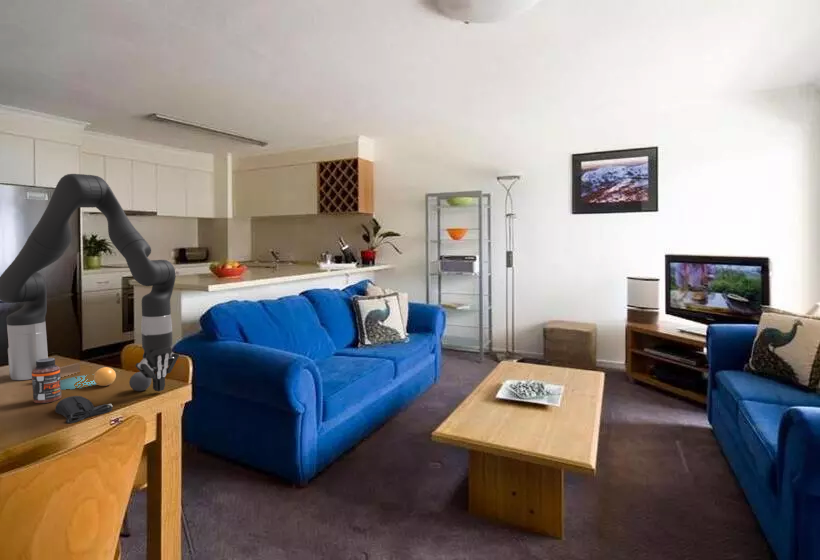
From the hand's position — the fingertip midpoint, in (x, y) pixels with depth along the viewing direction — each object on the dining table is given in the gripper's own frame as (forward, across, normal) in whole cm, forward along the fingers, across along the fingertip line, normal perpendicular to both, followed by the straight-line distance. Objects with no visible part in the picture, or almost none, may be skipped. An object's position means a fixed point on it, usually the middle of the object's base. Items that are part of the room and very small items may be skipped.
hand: (159, 390), depth 126 cm
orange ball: (-2, 0, -21) cm, 21 cm away
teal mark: (+1, 0, -31) cm, 31 cm away
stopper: (+2, -1, -42) cm, 42 cm away
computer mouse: (+2, +17, -8) cm, 19 cm away
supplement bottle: (+1, +14, -24) cm, 28 cm away
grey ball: (-2, 0, -7) cm, 7 cm away
